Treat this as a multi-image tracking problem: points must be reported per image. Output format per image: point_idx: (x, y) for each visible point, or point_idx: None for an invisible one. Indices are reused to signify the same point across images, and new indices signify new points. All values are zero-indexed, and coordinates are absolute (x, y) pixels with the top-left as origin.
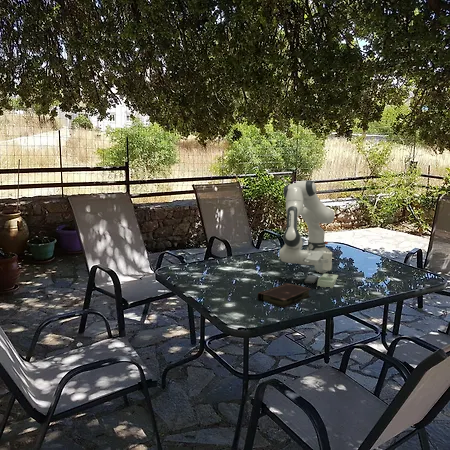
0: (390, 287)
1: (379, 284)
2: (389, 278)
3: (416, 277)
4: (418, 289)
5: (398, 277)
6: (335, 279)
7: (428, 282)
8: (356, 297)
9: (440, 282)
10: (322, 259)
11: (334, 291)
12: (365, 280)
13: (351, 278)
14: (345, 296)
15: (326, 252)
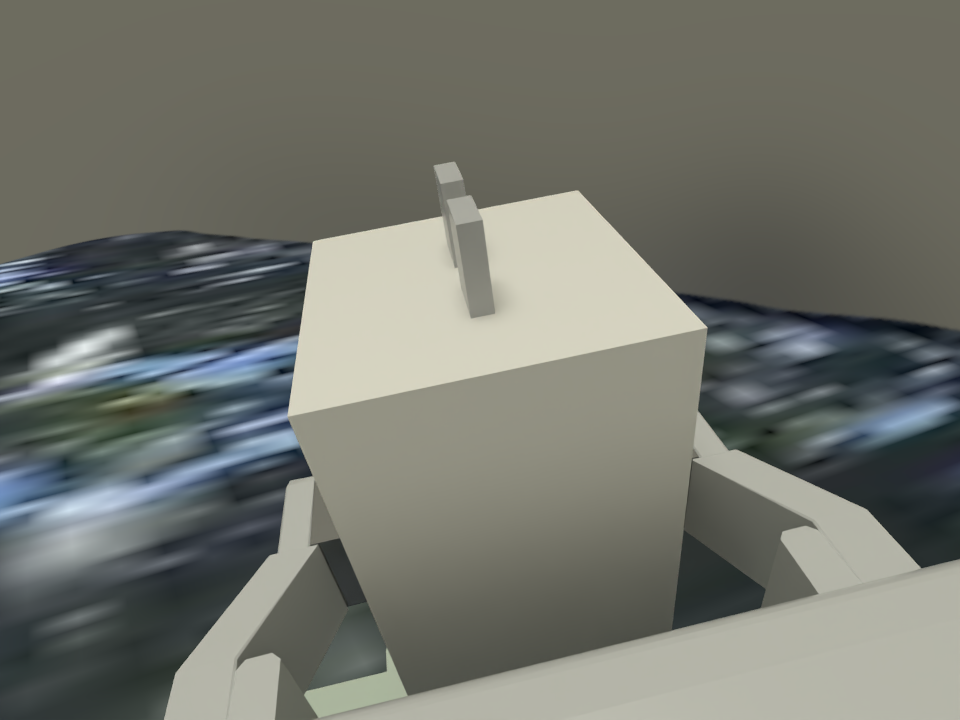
0: None
1: (254, 374)
2: (61, 376)
3: (29, 301)
4: (291, 249)
5: (30, 351)
6: (336, 688)
7: (137, 256)
8: (715, 374)
9: (129, 237)
10: (828, 493)
11: (739, 570)
12: (150, 473)
13: (83, 603)
14: (781, 434)
15: (518, 292)
